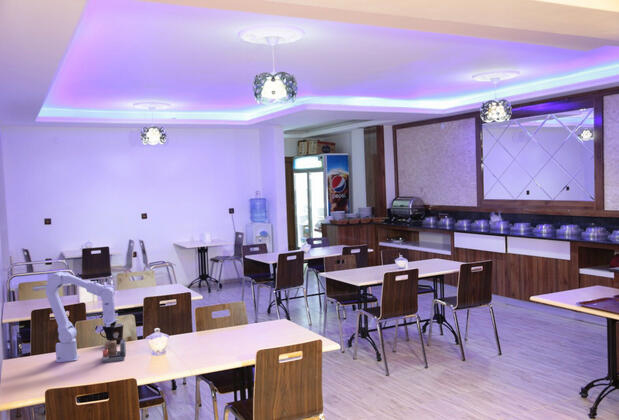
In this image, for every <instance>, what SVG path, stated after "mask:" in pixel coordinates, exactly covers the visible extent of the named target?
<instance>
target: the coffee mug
mask: <svg viewBox="0 0 619 420" xmlns="http://www.w3.org/2000/svg"><path fill="white" fill-rule="evenodd" d="M102 331H104V330H103V328H102V329H101V330H99V335H100V336H101V337H102V338H104V339H107V338H106V335H103V334H102ZM123 337H124V323H121V322H120V323H119V322H118V323H117V322H116V324H115V327H114V334H113V336H112V340H108V341H114V340H116V345H117V344H118V345H120V342H121V340H123ZM118 345H117V346H118Z"/></svg>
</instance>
